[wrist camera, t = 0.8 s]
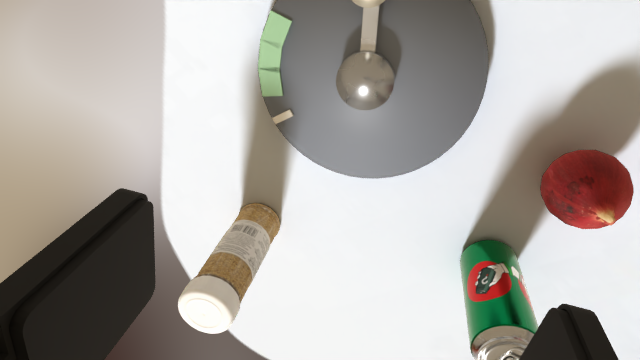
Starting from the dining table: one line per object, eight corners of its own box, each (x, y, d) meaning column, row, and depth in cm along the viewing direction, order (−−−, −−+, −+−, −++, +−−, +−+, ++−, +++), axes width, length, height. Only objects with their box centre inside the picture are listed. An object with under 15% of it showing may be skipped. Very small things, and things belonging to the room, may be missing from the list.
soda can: (449, 264, 42) (458, 366, 32) (478, 227, 40) (499, 324, 29) (495, 287, 42) (519, 395, 32) (527, 251, 40) (564, 357, 29)
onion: (528, 198, 37) (553, 254, 30) (534, 136, 35) (562, 181, 28) (604, 197, 36) (647, 256, 29) (616, 133, 33) (667, 180, 26)
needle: (391, 108, 34) (388, 123, 31) (337, 103, 35) (328, 117, 32) (409, -52, 29) (408, -53, 26) (345, -54, 30) (336, -55, 26)
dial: (401, -114, 29) (399, -118, 28) (529, 99, 34) (534, 106, 32) (222, 47, 37) (214, 51, 35) (346, 202, 41) (343, 212, 40)
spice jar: (234, 226, 46) (169, 319, 34) (247, 193, 43) (183, 281, 32) (272, 245, 46) (221, 344, 34) (288, 214, 43) (239, 309, 32)
